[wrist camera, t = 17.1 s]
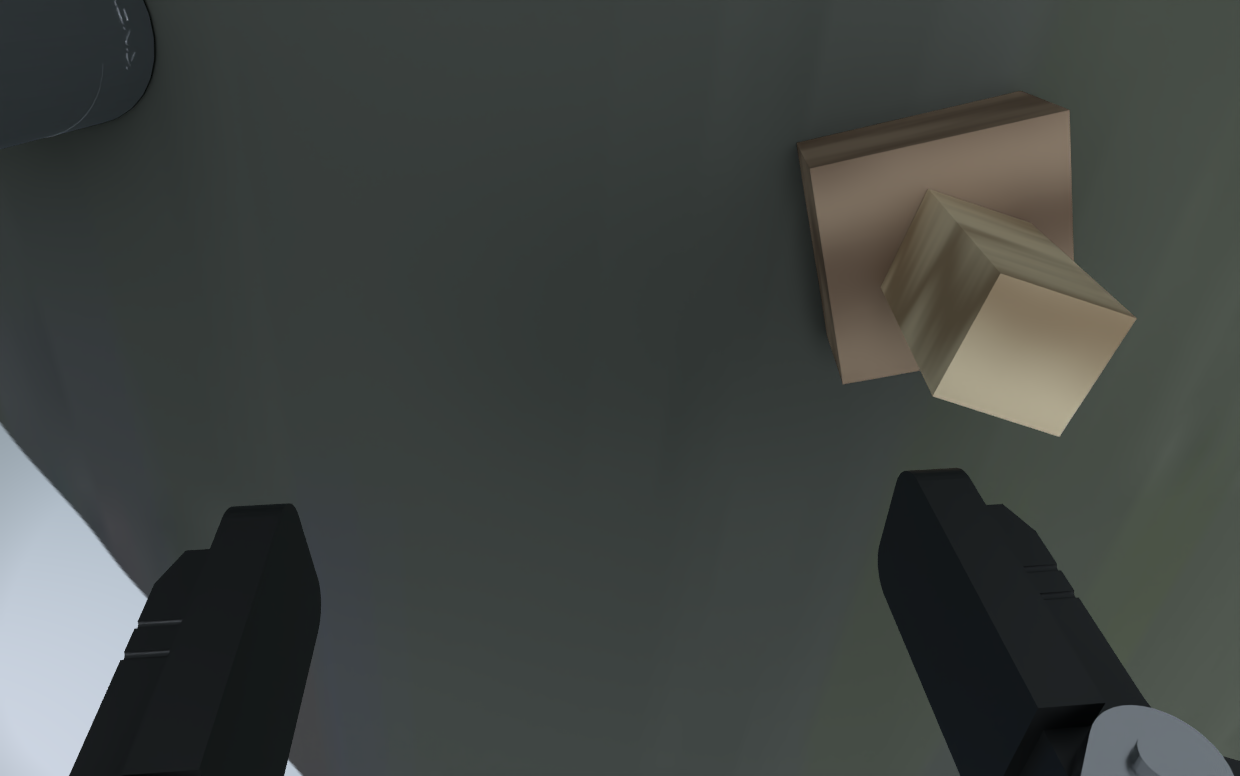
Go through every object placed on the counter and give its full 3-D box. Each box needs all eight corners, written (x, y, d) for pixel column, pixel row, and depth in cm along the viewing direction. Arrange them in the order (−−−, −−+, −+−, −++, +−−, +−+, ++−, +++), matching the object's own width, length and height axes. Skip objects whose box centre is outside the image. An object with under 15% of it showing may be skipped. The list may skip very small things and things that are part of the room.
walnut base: (1029, 295, 43) (1076, 342, 37) (826, 333, 45) (843, 384, 39) (1018, 90, 39) (1069, 110, 33) (795, 142, 40) (809, 168, 35)
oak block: (977, 318, 37) (1059, 436, 28) (880, 287, 37) (932, 396, 28) (1030, 222, 35) (1136, 318, 26) (928, 188, 35) (1000, 273, 26)
